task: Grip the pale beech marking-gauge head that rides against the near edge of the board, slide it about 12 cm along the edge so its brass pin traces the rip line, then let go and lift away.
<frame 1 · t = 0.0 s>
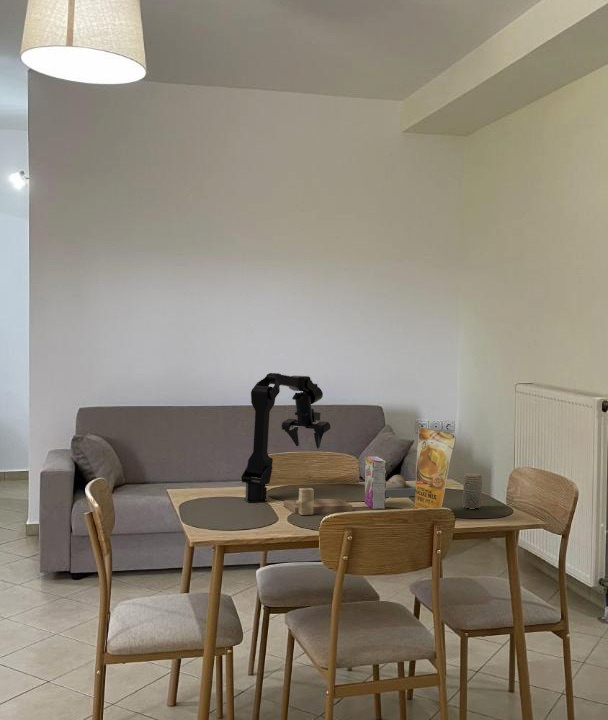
hand: (307, 447, 319), 15 cm above the table, tool pointing down, fingers open, 9 cm apart
candy bar box: (374, 506, 287), on the table
mug coaster tray: (392, 493, 311), on the table
gauge: (303, 499, 272), point 4 cm above the table, slide at 0.0 cm
pancake mix bag: (430, 516, 273), on the table
beige rock: (392, 494, 311), on the table
board: (317, 508, 279), on the table
carving: (471, 509, 287), on the table
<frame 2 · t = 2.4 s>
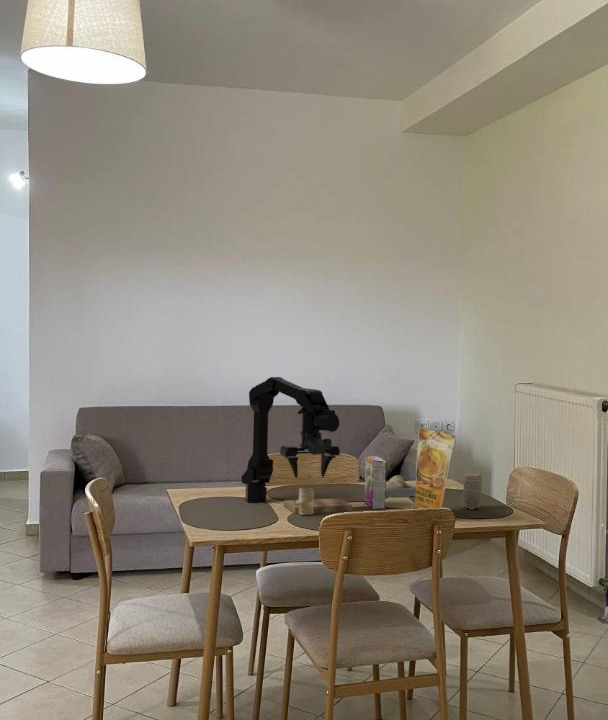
hand: (309, 477, 269), 12 cm above the table, tool pointing down, fingers open, 9 cm apart
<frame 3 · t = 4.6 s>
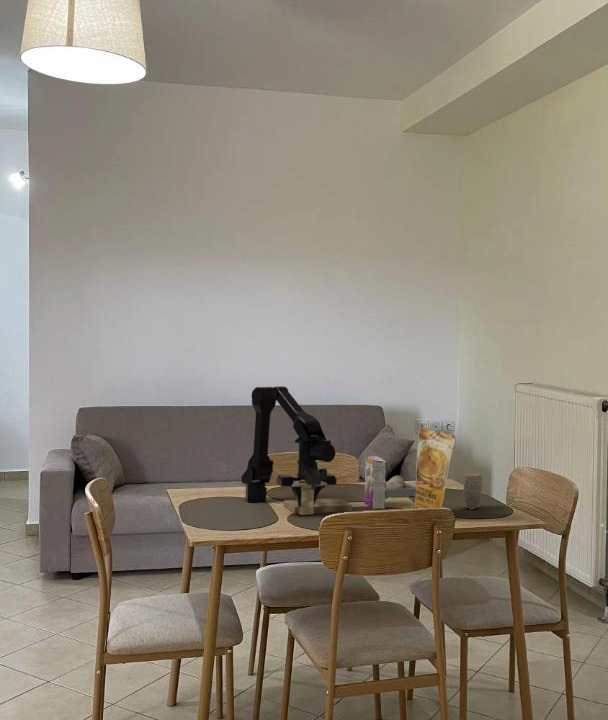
hand: (305, 506, 269), 3 cm above the table, tool pointing down, fingers closed on gauge, 4 cm apart
gauge: (303, 499, 272), point 4 cm above the table, slide at 0.0 cm, touching gripper
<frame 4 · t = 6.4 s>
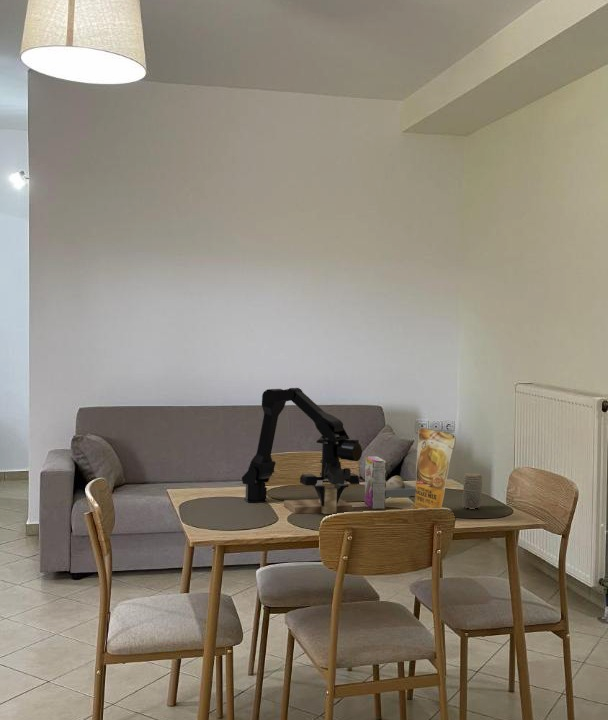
hand: (329, 505, 271), 3 cm above the table, tool pointing down, fingers closed on gauge, 4 cm apart
gauge: (326, 498, 274), point 4 cm above the table, slide at 7.9 cm, touching gripper
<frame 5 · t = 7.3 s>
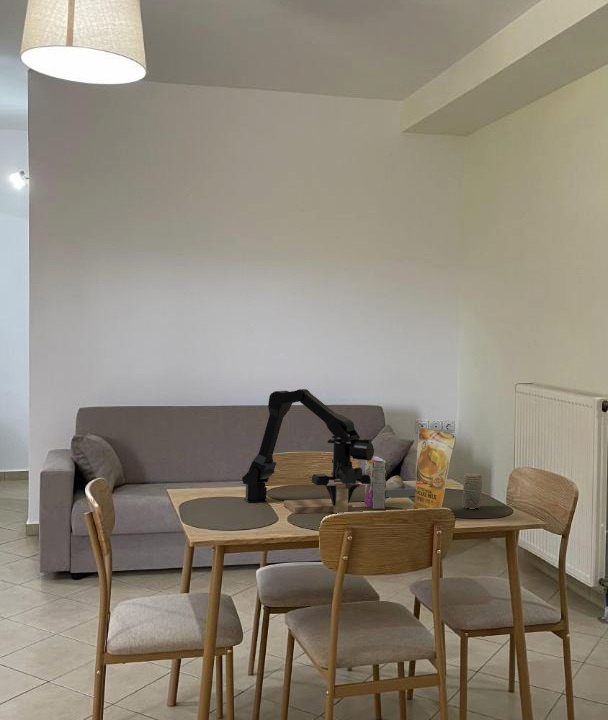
hand: (340, 505, 273), 3 cm above the table, tool pointing down, fingers closed on gauge, 4 cm apart
gauge: (337, 498, 275), point 4 cm above the table, slide at 11.9 cm, touching gripper
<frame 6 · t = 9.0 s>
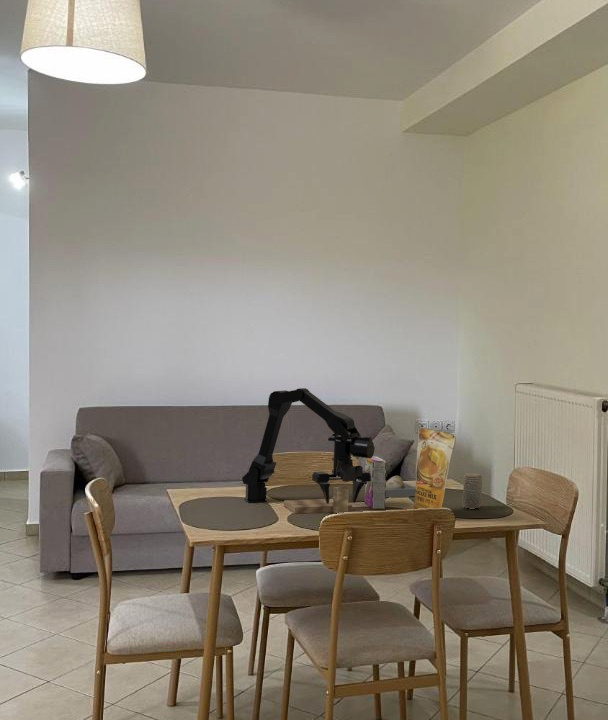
hand: (340, 503, 273), 3 cm above the table, tool pointing down, fingers open, 9 cm apart
gauge: (337, 498, 275), point 4 cm above the table, slide at 12.0 cm
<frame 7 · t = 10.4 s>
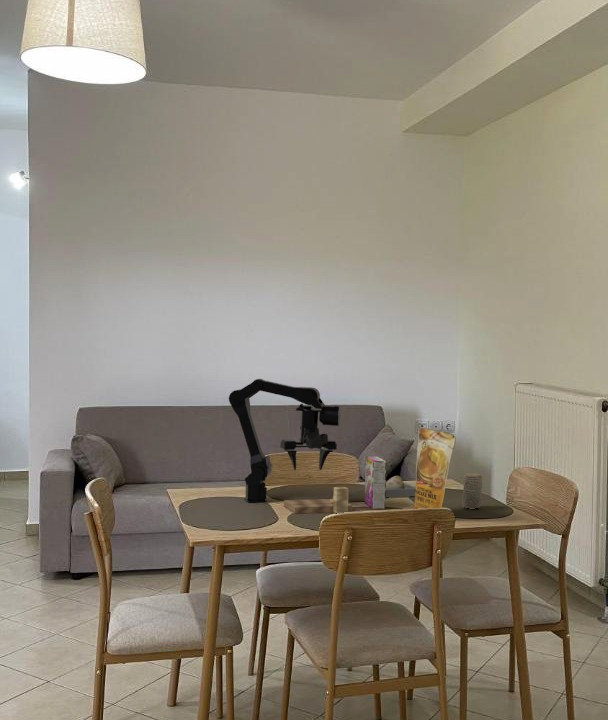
hand: (307, 469, 286), 12 cm above the table, tool pointing down, fingers open, 9 cm apart
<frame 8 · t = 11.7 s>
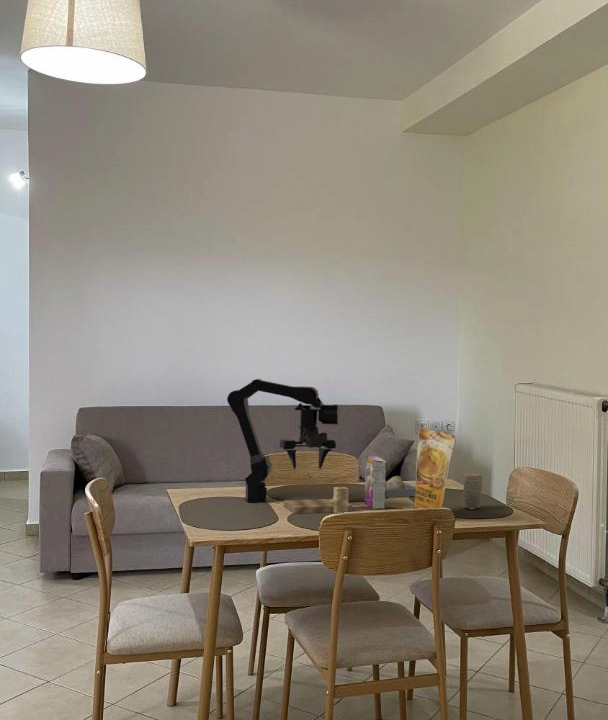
hand: (307, 468, 287), 12 cm above the table, tool pointing down, fingers open, 9 cm apart
beige rock: (390, 496, 308), on the table, touching mug coaster tray
everything else where it was.
at the end: gauge slide at 12.0 cm; the gripper is holding nothing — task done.
